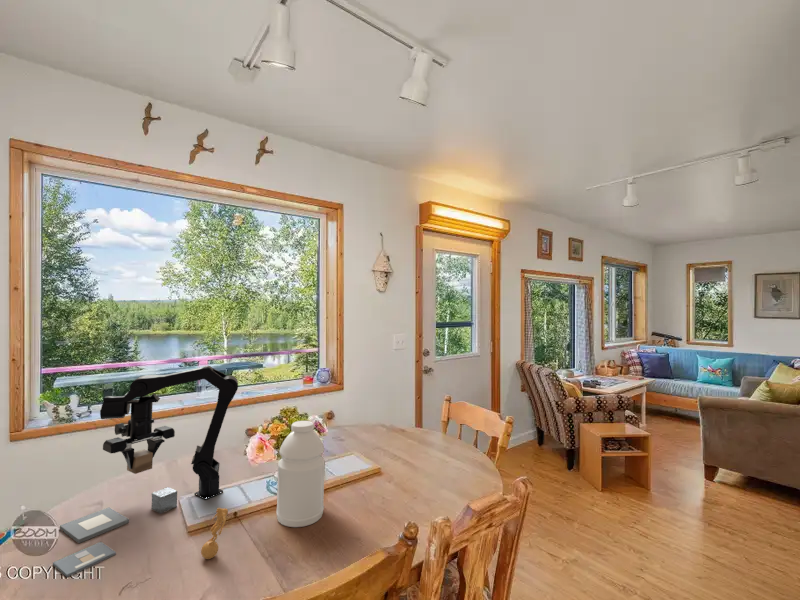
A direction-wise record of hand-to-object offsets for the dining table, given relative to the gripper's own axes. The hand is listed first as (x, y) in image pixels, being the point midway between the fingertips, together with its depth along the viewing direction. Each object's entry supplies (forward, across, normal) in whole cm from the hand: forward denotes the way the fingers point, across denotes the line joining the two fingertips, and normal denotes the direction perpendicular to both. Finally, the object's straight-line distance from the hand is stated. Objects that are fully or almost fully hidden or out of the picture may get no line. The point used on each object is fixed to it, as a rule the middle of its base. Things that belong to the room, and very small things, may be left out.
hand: (139, 465), depth 126 cm
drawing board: (+12, +21, +18) cm, 30 cm away
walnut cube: (+1, 0, 0) cm, 1 cm away
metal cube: (+12, -3, +9) cm, 15 cm away
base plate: (+12, +13, +3) cm, 18 cm away
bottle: (+12, -23, +47) cm, 54 cm away
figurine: (+12, +3, +43) cm, 45 cm away
